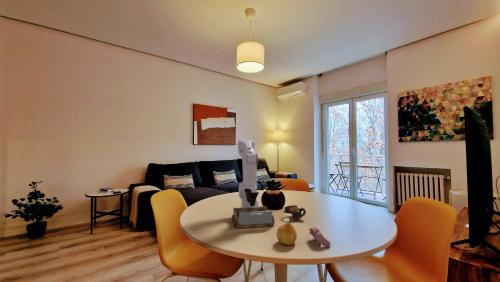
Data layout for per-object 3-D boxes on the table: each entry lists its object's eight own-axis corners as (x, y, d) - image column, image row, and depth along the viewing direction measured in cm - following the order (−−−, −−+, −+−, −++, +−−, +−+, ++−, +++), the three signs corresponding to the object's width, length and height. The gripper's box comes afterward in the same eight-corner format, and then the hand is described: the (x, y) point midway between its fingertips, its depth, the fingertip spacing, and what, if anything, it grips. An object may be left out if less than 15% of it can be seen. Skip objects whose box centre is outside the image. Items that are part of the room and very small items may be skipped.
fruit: (301, 242, 88) (296, 220, 92) (280, 244, 87) (276, 222, 91) (296, 245, 95) (292, 225, 99) (277, 248, 94) (274, 227, 98)
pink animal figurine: (312, 241, 98) (305, 226, 98) (322, 236, 99) (314, 221, 99) (322, 252, 89) (313, 235, 88) (332, 246, 89) (324, 230, 89)
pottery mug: (283, 222, 120) (281, 206, 125) (287, 225, 128) (284, 210, 132) (307, 218, 118) (303, 202, 122) (309, 221, 125) (305, 206, 130)
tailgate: (271, 222, 112) (271, 210, 112) (272, 223, 110) (272, 211, 110) (239, 224, 109) (239, 212, 109) (239, 225, 107) (239, 213, 107)
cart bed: (267, 217, 126) (267, 206, 126) (275, 226, 112) (275, 213, 113) (231, 219, 123) (231, 208, 123) (234, 228, 109) (234, 215, 109)
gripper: (241, 175, 124) (240, 201, 124) (245, 179, 110) (245, 208, 109) (253, 175, 125) (253, 200, 125) (260, 179, 111) (260, 207, 111)
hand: (250, 204), depth 117 cm, fingers open, 7 cm apart
